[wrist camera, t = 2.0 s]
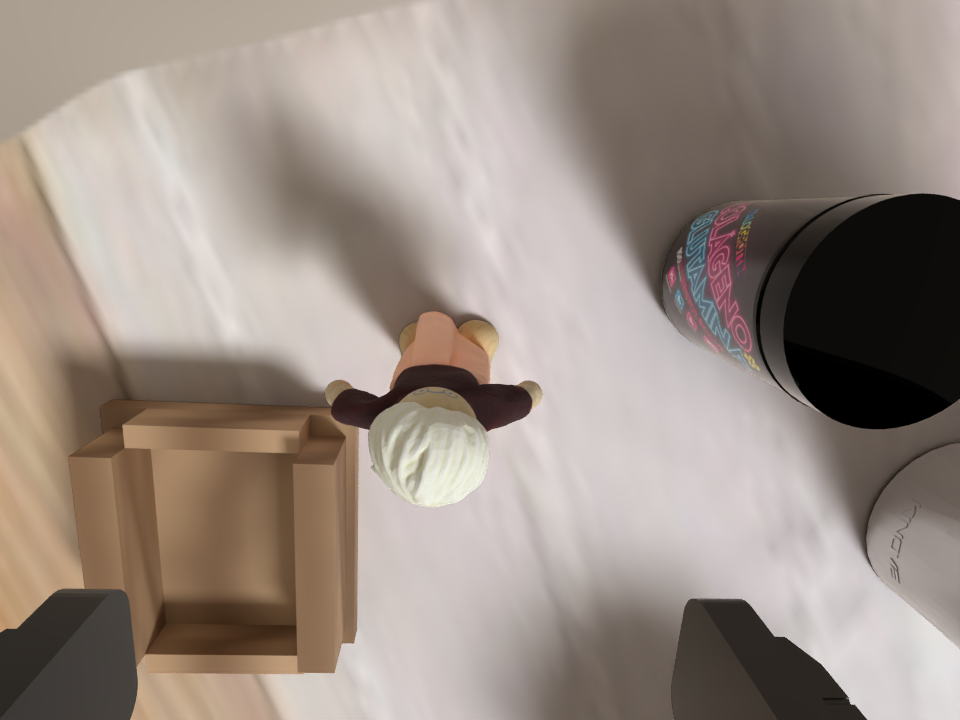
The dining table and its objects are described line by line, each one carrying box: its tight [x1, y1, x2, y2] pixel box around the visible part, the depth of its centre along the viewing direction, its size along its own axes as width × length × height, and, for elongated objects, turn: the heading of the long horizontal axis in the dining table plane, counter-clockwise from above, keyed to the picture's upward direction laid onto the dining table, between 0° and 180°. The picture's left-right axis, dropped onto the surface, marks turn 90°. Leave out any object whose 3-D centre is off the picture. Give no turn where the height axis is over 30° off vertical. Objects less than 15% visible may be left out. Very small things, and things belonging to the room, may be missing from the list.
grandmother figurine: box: [325, 311, 542, 507], centre depth 20 cm, size 8×4×13 cm, turn 100°
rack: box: [68, 400, 359, 674], centre depth 26 cm, size 11×12×4 cm
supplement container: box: [661, 194, 960, 429], centre depth 21 cm, size 7×7×10 cm
